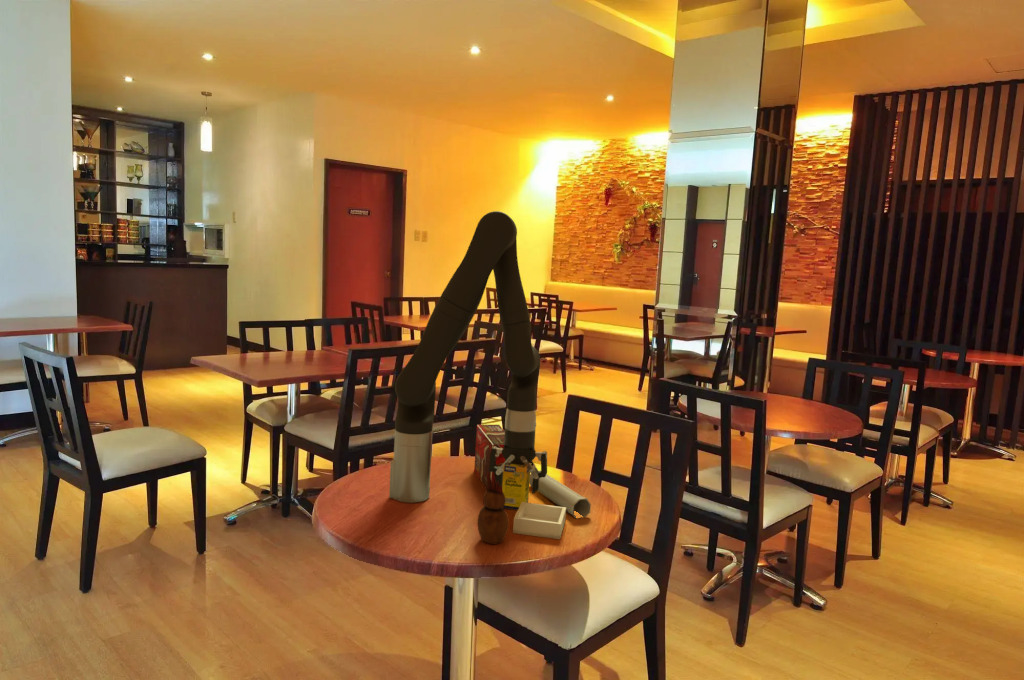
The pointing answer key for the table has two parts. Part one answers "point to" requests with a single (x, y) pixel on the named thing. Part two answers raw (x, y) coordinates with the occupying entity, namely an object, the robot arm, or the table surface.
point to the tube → (563, 496)
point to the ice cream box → (487, 450)
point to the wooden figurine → (493, 514)
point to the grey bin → (539, 520)
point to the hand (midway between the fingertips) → (517, 490)
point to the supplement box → (515, 485)
